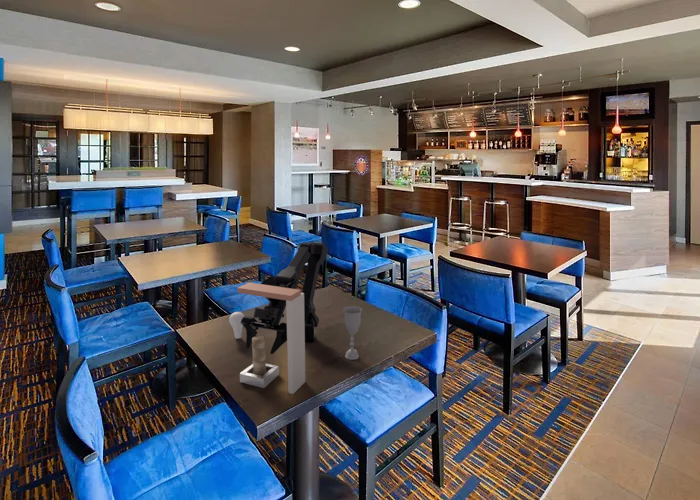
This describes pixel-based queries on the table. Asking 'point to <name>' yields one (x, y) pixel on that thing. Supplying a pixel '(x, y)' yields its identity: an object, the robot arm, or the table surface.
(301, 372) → the inverted l-shaped panel
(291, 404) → the table surface
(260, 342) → the peg
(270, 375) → the socket
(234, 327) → the lightbulb
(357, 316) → the chalice
